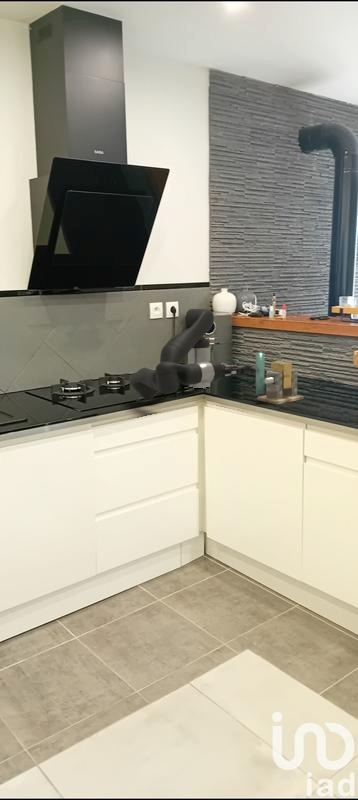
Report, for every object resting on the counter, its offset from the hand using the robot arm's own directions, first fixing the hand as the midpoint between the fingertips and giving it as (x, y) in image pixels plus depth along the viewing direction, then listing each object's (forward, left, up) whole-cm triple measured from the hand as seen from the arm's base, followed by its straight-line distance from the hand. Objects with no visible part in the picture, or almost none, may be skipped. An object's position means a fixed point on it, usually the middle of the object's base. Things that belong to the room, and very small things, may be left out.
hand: (242, 367), depth 224 cm
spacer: (+16, +12, -10) cm, 22 cm away
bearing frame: (+16, +11, -15) cm, 25 cm away
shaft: (+13, +10, -11) cm, 20 cm away
